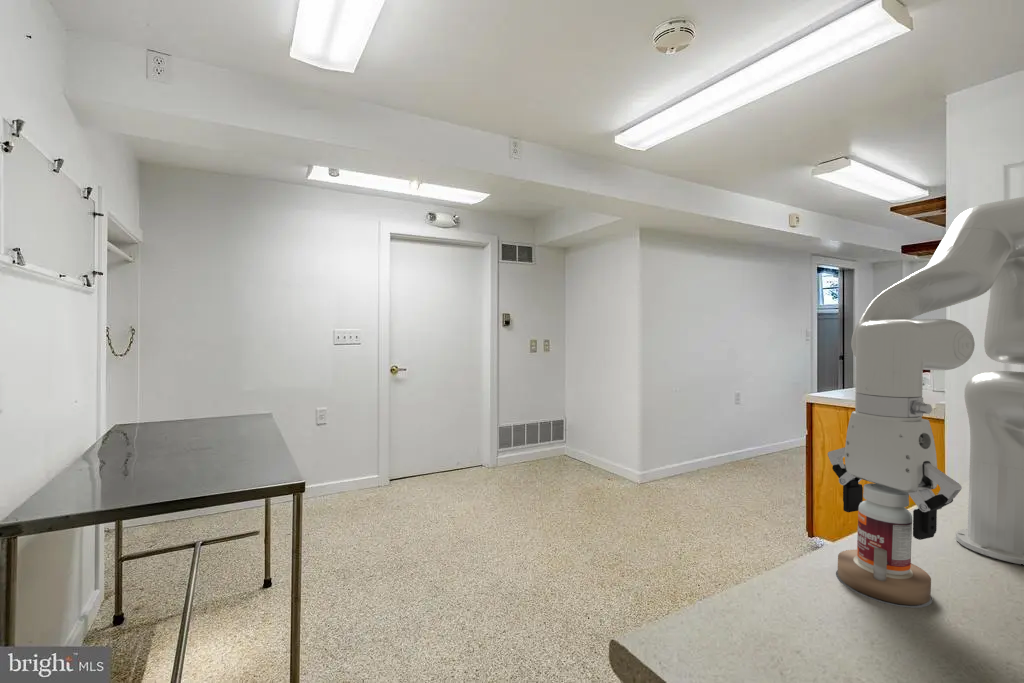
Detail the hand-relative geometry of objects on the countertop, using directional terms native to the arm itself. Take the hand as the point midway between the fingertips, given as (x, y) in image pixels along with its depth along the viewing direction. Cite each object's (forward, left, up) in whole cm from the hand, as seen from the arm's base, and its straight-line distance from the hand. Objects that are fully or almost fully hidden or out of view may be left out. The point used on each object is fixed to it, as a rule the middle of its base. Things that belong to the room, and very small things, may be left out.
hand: (885, 523), depth 68 cm
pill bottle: (0, 0, -6) cm, 6 cm away
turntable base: (+1, 0, -11) cm, 11 cm away
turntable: (+1, 0, -9) cm, 9 cm away
